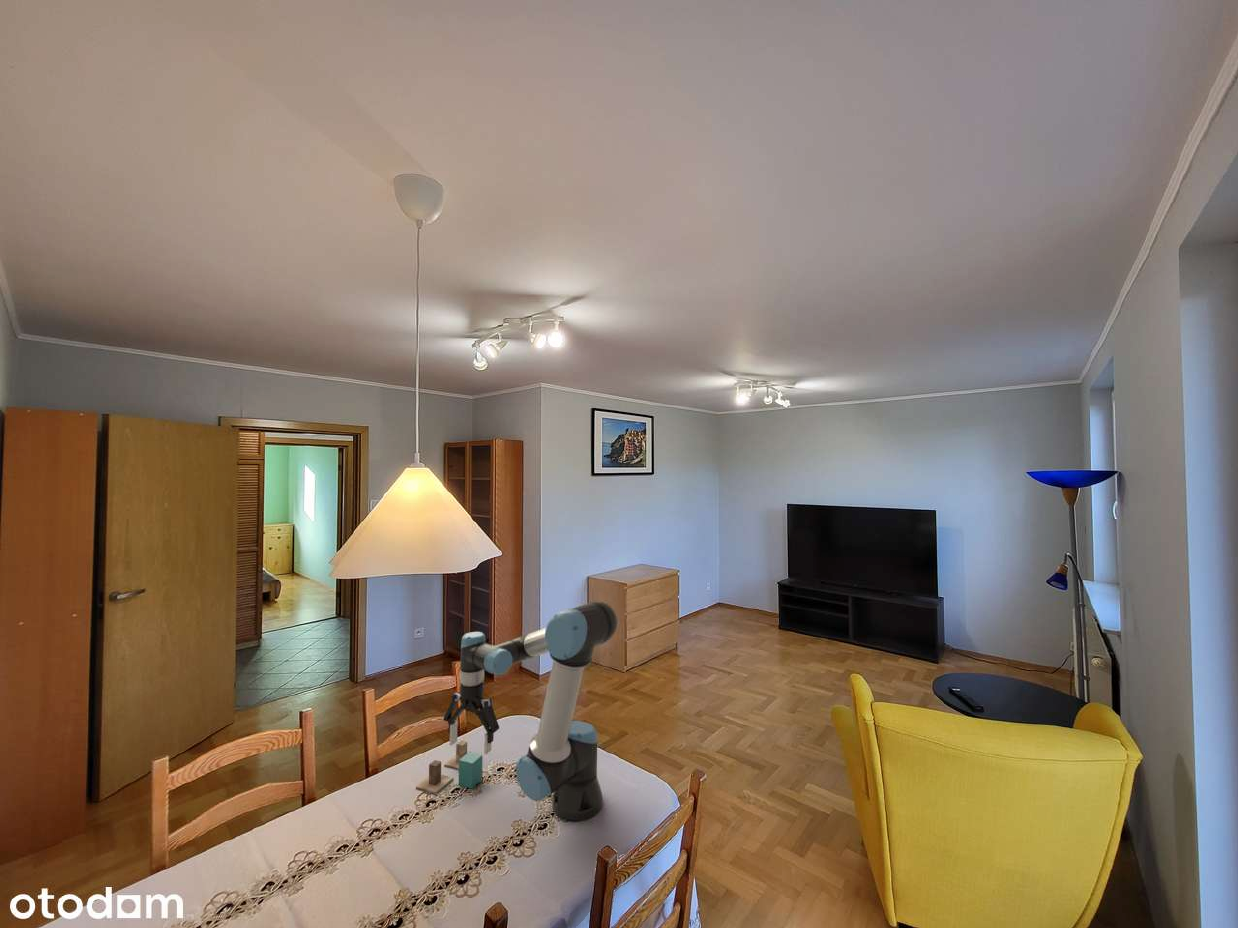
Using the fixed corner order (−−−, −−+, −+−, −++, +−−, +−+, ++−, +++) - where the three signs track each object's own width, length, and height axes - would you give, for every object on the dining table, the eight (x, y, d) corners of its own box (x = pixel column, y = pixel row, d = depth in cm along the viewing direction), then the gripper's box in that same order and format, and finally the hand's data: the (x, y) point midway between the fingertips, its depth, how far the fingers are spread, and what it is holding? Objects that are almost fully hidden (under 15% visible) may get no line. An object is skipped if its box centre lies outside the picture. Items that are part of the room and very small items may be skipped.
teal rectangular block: (482, 779, 157) (482, 754, 157) (471, 788, 152) (472, 763, 152) (469, 775, 159) (469, 751, 159) (458, 784, 154) (459, 759, 154)
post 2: (478, 758, 169) (478, 739, 169) (463, 770, 161) (463, 750, 161) (459, 753, 172) (460, 734, 172) (444, 765, 164) (444, 746, 164)
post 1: (453, 779, 157) (453, 758, 157) (435, 794, 149) (436, 772, 149) (433, 774, 159) (434, 753, 160) (415, 788, 152) (416, 766, 152)
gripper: (511, 683, 156) (509, 749, 155) (449, 671, 165) (447, 734, 164) (497, 692, 149) (495, 762, 148) (433, 679, 158) (431, 745, 157)
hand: (470, 747), depth 156 cm, fingers open, 13 cm apart
